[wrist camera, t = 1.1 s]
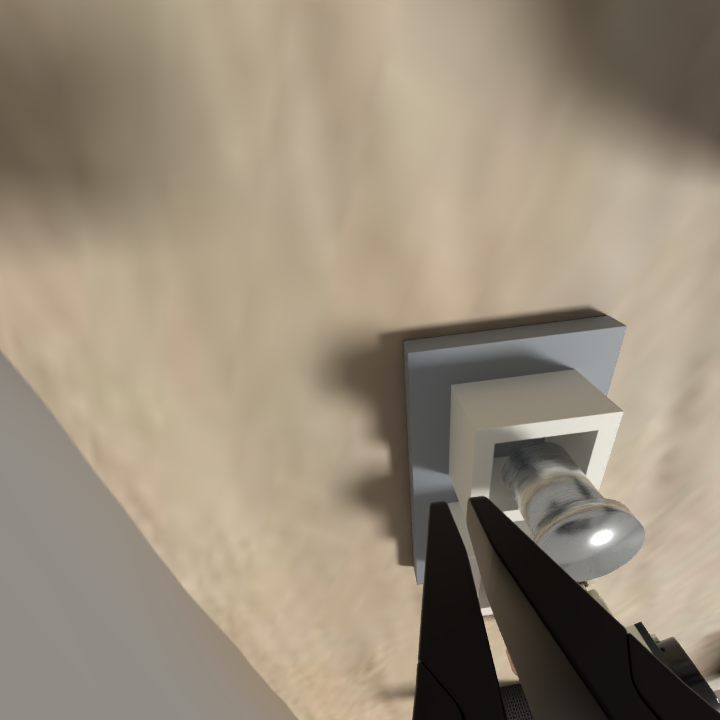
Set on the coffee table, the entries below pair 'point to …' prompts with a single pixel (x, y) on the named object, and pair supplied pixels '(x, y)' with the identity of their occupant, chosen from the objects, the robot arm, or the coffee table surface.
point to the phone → (516, 703)
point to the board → (504, 414)
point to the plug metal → (570, 512)
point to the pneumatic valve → (669, 657)
